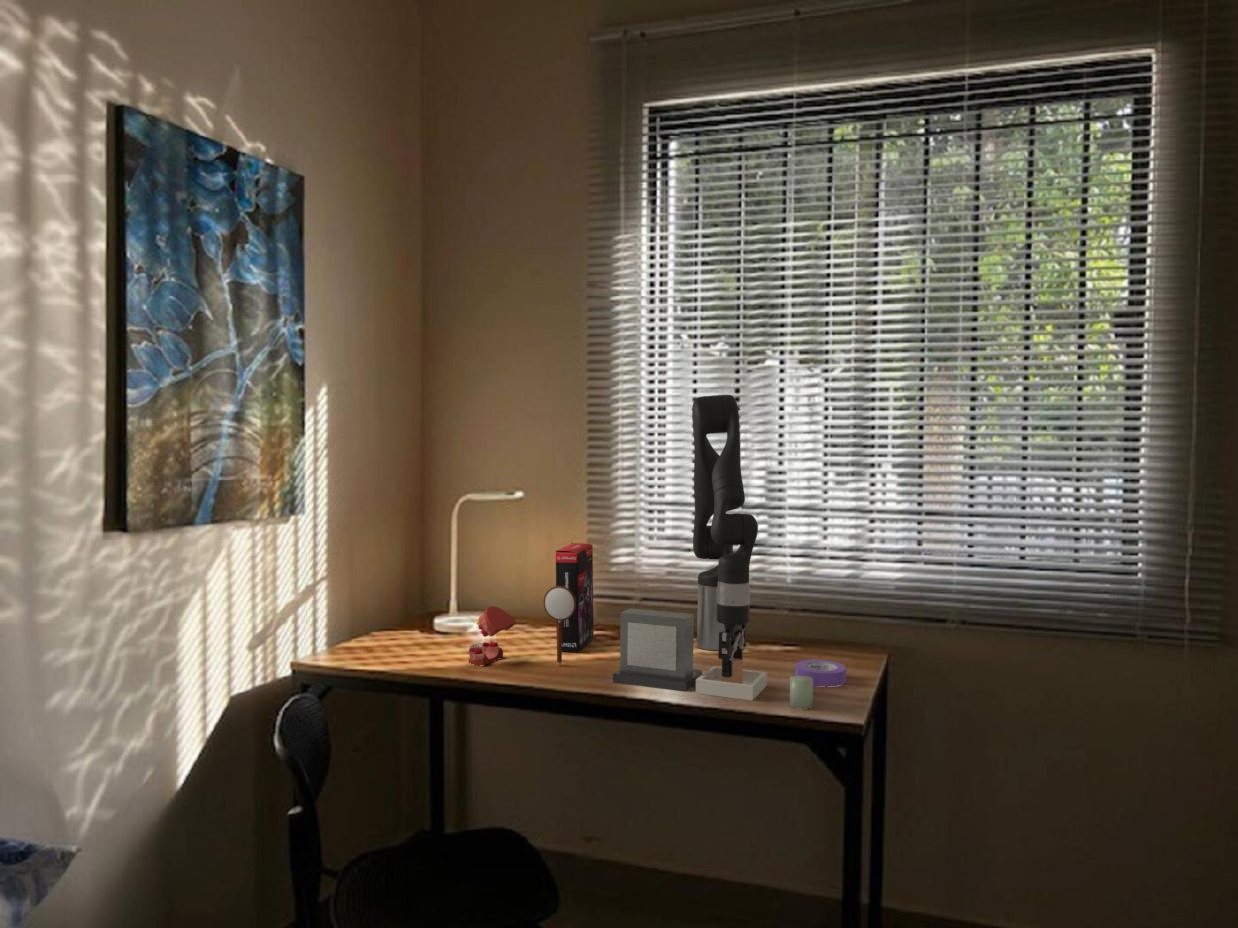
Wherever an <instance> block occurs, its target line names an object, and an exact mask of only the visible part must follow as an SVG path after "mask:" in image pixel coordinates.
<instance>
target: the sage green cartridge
mask: <svg viewBox="0 0 1238 928" xmlns="http://www.w3.org/2000/svg"><path fill="white" fill-rule="evenodd" d="M813 690H814V687H813V678H811V677H808V676H795V675H792V676H790V677H789V707H790V706H792V707H794V708H801V709H805V708H811V707H812V708H813V702H814V701H813V696H814V691H813ZM794 708H793V709H794ZM812 708H811V709H812Z"/></svg>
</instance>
